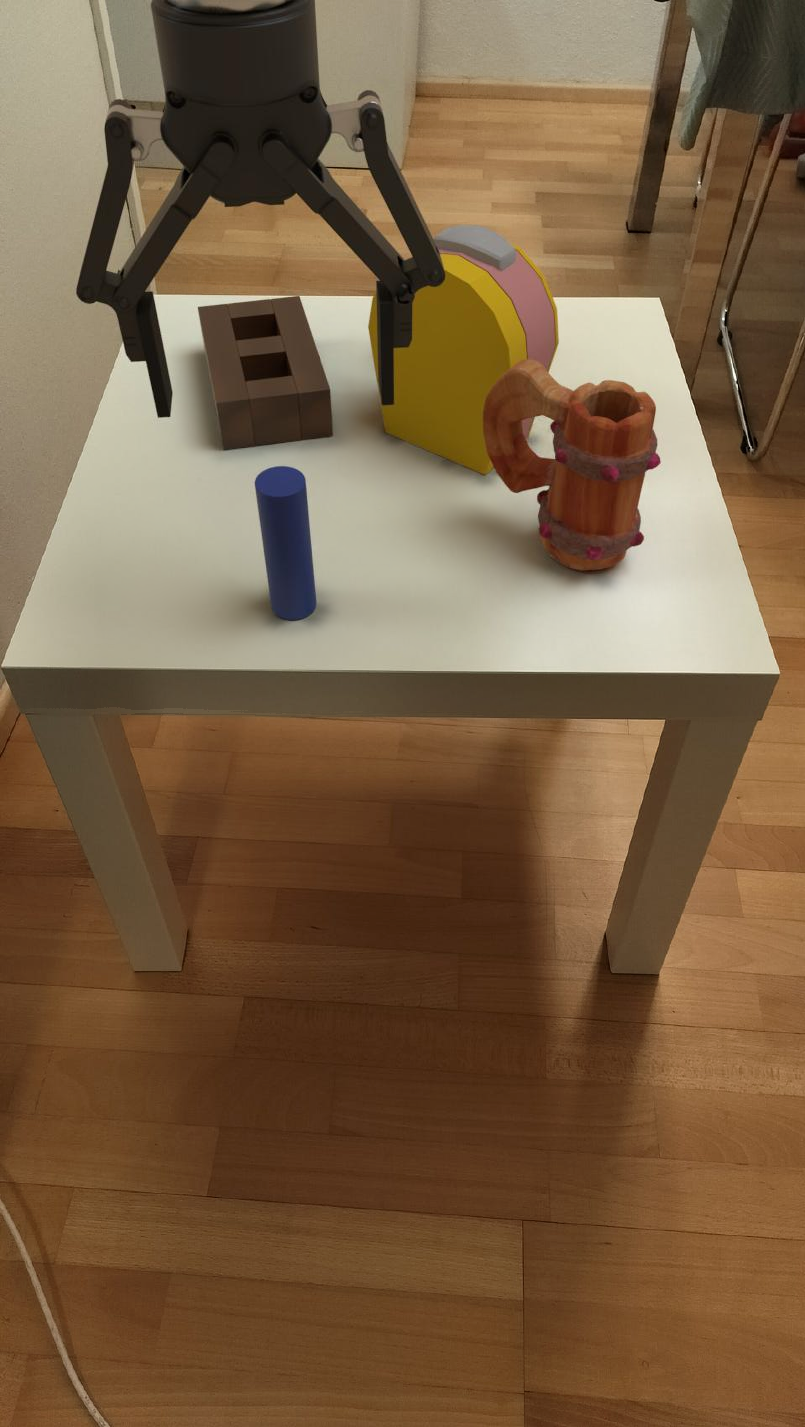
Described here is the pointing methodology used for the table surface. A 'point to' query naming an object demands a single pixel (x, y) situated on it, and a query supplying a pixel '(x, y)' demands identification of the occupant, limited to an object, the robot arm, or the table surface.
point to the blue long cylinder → (286, 541)
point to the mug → (575, 460)
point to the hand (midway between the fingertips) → (276, 399)
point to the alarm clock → (467, 343)
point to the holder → (265, 373)
